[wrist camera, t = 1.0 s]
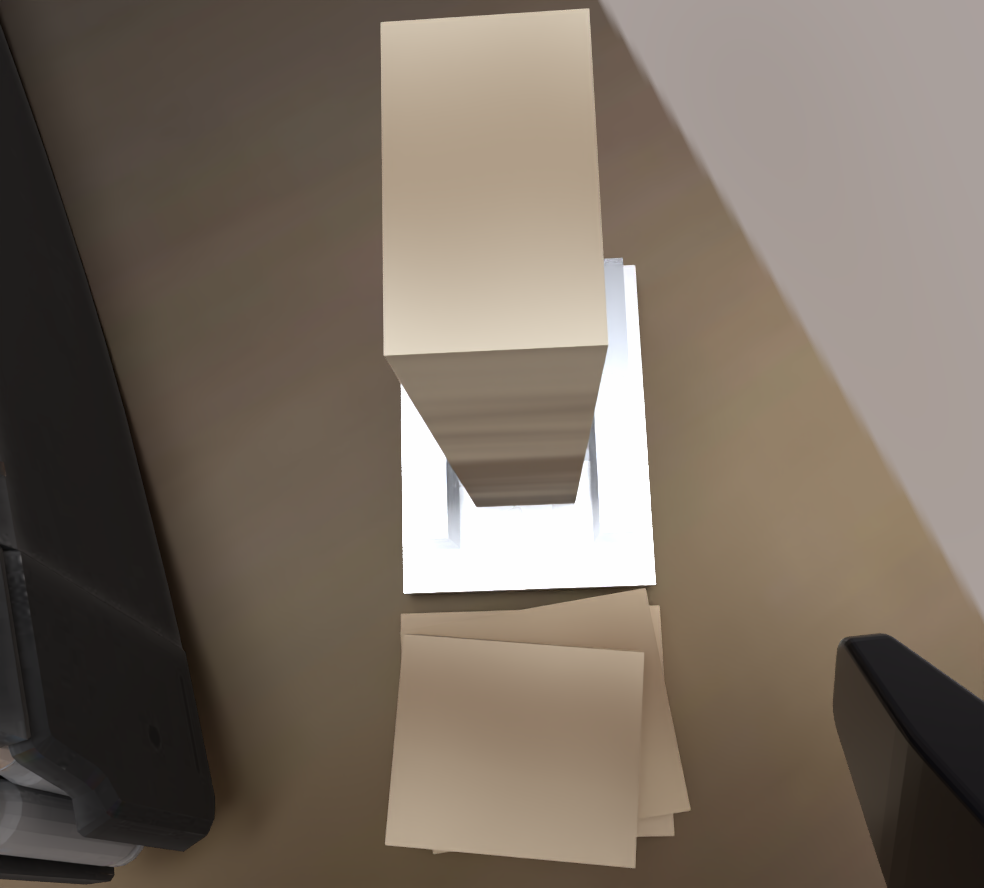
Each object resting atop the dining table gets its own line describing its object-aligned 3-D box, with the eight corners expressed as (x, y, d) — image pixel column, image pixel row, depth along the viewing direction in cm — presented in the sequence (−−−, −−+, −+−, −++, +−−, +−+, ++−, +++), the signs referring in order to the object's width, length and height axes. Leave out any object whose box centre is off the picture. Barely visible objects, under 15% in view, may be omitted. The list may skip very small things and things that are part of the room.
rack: (651, 586, 23) (671, 578, 19) (410, 594, 24) (382, 587, 20) (631, 279, 25) (647, 213, 21) (405, 291, 25) (378, 228, 21)
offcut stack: (674, 822, 22) (705, 870, 18) (413, 827, 22) (379, 876, 18) (659, 591, 23) (685, 583, 19) (409, 600, 23) (377, 594, 19)
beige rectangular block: (575, 503, 23) (608, 344, 10) (476, 507, 23) (383, 355, 10) (567, 344, 23) (589, 7, 11) (471, 349, 24) (381, 22, 11)
